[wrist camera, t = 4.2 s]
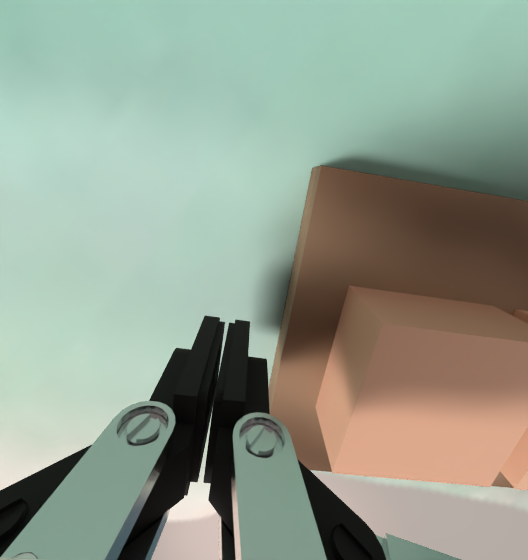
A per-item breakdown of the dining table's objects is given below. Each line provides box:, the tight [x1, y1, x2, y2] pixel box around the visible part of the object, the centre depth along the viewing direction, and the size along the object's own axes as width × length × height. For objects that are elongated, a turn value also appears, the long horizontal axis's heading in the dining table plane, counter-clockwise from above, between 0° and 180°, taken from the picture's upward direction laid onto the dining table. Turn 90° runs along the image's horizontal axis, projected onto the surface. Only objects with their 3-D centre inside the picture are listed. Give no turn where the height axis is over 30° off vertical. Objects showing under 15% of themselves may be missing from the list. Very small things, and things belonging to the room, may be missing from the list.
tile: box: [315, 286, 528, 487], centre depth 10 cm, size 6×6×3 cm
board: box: [268, 166, 528, 488], centre depth 13 cm, size 14×16×2 cm
